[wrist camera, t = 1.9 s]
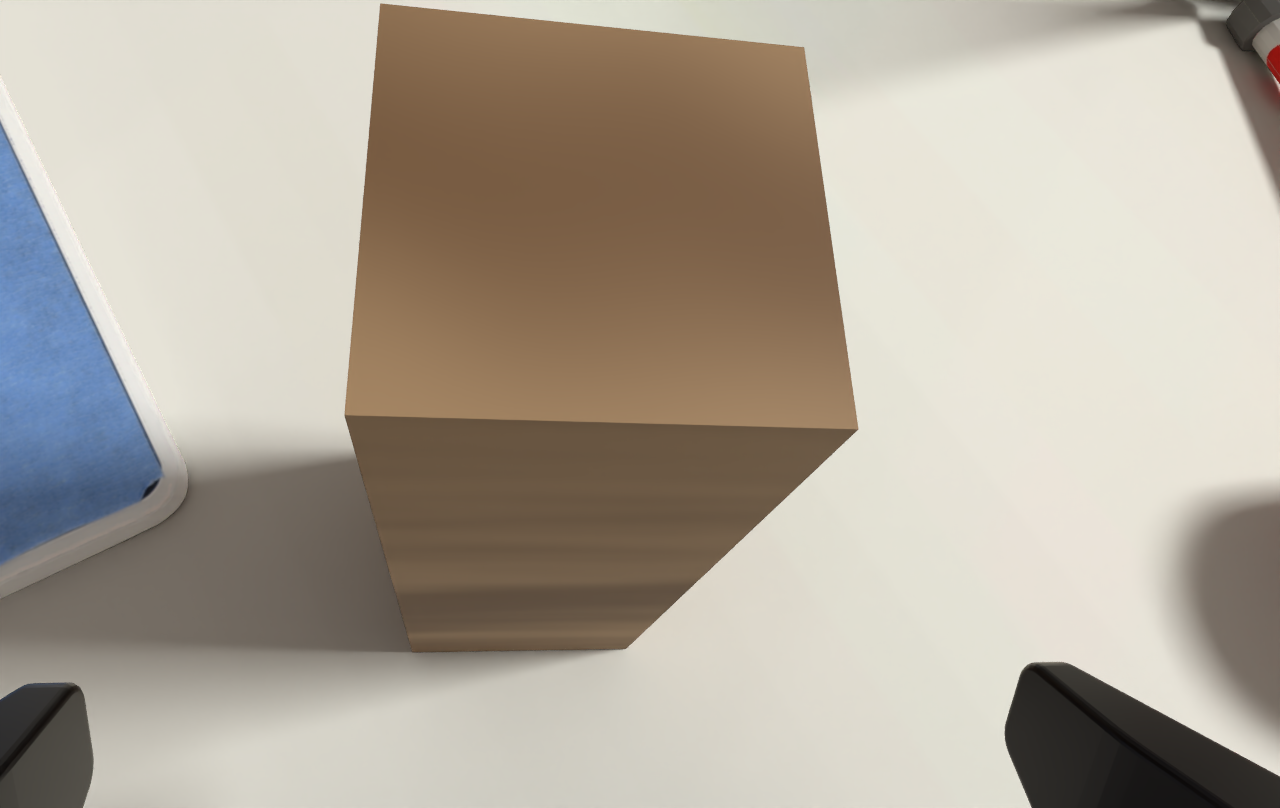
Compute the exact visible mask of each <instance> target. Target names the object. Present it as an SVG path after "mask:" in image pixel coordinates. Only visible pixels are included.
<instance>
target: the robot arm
mask: <svg viewBox="0 0 1280 808" xmlns="http://www.w3.org/2000/svg"><path fill="white" fill-rule="evenodd" d="M1005 742H1006V746H1007V749H1008V752H1009V755H1010V757H1011V760H1012V762H1013V764H1014V767H1015V769H1016V771H1017V774H1018V776H1019V779H1020V781H1021V783H1022V786H1023V788H1024V790H1025V793H1026V795H1027V798H1028V800H1029V802H1030V805H1031V807H1032V808H1280V776H1278V775H1276V774H1274V773H1272V772H1270V771H1268V770H1267V769H1265V768H1263V767H1261V766H1259V765H1257V764H1255V763H1254V762H1252V761H1250V760H1248V759H1246V758H1244V757H1242V756H1240V755H1239V754H1237V753H1235V752H1233V751H1231V750H1229V749H1227V748H1226V747H1224V746H1222V745H1220V744H1218V743H1216V742H1214V741H1213V740H1211V739H1209V738H1207V737H1205V736H1203V735H1201V734H1200V733H1198V732H1196V731H1194V730H1192V729H1190V728H1188V727H1186V726H1185V725H1183V724H1181V723H1179V722H1177V721H1175V720H1173V719H1172V718H1170V717H1168V716H1166V715H1164V714H1162V713H1160V712H1159V711H1157V710H1155V709H1153V708H1151V707H1149V706H1147V705H1145V704H1144V703H1142V702H1140V701H1138V700H1136V699H1134V698H1132V697H1131V696H1129V695H1127V694H1125V693H1123V692H1121V691H1119V690H1118V689H1116V688H1114V687H1112V686H1110V685H1108V684H1106V683H1104V682H1103V681H1101V680H1099V679H1097V678H1095V677H1093V676H1091V675H1090V674H1088V673H1086V672H1084V671H1082V670H1080V669H1078V668H1077V667H1075V666H1073V665H1071V664H1068V663H1064V662H1034V663H1031V664H1028V665H1027V666H1026V667H1025V668H1024V669H1023V670H1022V672H1021V674H1020V677H1019V680H1018V684H1017V687H1016V690H1015V694H1014V697H1013V700H1012V704H1011V707H1010V710H1009V714H1008V717H1007V720H1006V724H1005ZM92 774H93V750H92V744H91V737H90V731H89V724H88V718H87V711H86V705H85V699H84V695H83V692H82V690H81V688H80V687H79V686H77V685H76V684H74V683H33V684H27V685H24V686H22V687H20V688H18V689H16V690H15V691H13V692H12V693H10V694H9V695H7V696H6V697H4V698H2V699H1V700H0V808H83V806H84V803H85V800H86V797H87V793H88V790H89V787H90V784H91V779H92Z"/></svg>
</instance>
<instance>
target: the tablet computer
mask: <svg viewBox="0 0 1280 808" xmlns="http://www.w3.org/2000/svg"><path fill="white" fill-rule="evenodd" d="M187 489H188V473H187V468H186V463H185V461H184V459H183V457H182V455H181V453H180V451H179V448H178V446H177V444H176V442H175V440H174V438H173V436H172V434H171V432H170V430H169V428H168V426H167V424H166V421H165V419H164V417H163V415H162V413H161V411H160V409H159V407H158V405H157V403H156V400H155V398H154V396H153V394H152V392H151V390H150V388H149V386H148V384H147V382H146V380H145V378H144V375H143V373H142V371H141V369H140V367H139V365H138V363H137V361H136V359H135V357H134V355H133V353H132V351H131V348H130V346H129V344H128V342H127V340H126V338H125V336H124V334H123V332H122V330H121V327H120V325H119V323H118V321H117V319H116V317H115V315H114V313H113V311H112V308H111V306H110V304H109V302H108V300H107V298H106V296H105V294H104V292H103V290H102V287H101V285H100V283H99V281H98V279H97V277H96V275H95V273H94V271H93V269H92V267H91V264H90V262H89V260H88V258H87V256H86V254H85V252H84V250H83V248H82V246H81V244H80V241H79V239H78V237H77V235H76V233H75V231H74V229H73V227H72V225H71V223H70V220H69V218H68V216H67V214H66V212H65V210H64V208H63V206H62V203H61V201H60V199H59V197H58V195H57V193H56V191H55V189H54V187H53V184H52V182H51V180H50V178H49V176H48V174H47V172H46V170H45V168H44V166H43V164H42V162H41V160H40V158H39V155H38V153H37V151H36V149H35V147H34V145H33V142H32V140H31V138H30V136H29V134H28V132H27V130H26V127H25V125H24V123H23V121H22V119H21V117H20V115H19V113H18V111H17V109H16V107H15V105H14V103H13V101H12V99H11V97H10V95H9V92H8V90H7V88H6V86H5V84H4V82H3V80H2V78H1V76H0V599H2V598H4V597H6V596H8V595H10V594H12V593H14V592H17V591H19V590H21V589H23V588H25V587H27V586H29V585H31V584H34V583H36V582H38V581H40V580H42V579H44V578H46V577H48V576H51V575H53V574H55V573H57V572H59V571H61V570H63V569H65V568H68V567H70V566H72V565H74V564H76V563H78V562H80V561H82V560H85V559H87V558H89V557H91V556H93V555H95V554H97V553H100V552H102V551H104V550H106V549H108V548H110V547H112V546H114V545H116V544H118V543H121V542H123V541H125V540H127V539H129V538H131V537H133V536H135V535H137V534H139V533H141V532H143V531H145V530H147V529H150V528H152V527H154V526H156V525H158V524H159V523H161V522H162V521H164V520H165V519H167V518H168V517H169V516H170V515H171V514H173V513H174V512H175V511H176V509H177V508H178V507H179V506H180V505H181V504H182V502H183V500H184V498H185V496H186V493H187Z"/></svg>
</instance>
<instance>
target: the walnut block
mask: <svg viewBox="0 0 1280 808" xmlns="http://www.w3.org/2000/svg"><path fill="white" fill-rule="evenodd" d="M345 419H346V422H347V426H348V429H349V433H350V436H351V440H352V443H353V447H354V450H355V454H356V457H357V461H358V464H359V468H360V471H361V475H362V478H363V482H364V485H365V489H366V492H367V496H368V499H369V503H370V506H371V510H372V513H373V516H374V520H375V523H376V527H377V530H378V534H379V537H380V541H381V544H382V548H383V551H384V555H385V558H386V562H387V565H388V569H389V572H390V576H391V579H392V583H393V586H394V590H395V593H396V597H397V600H398V604H399V607H400V611H401V614H402V618H403V621H404V625H405V628H406V632H407V635H408V639H409V642H410V646H411V649H412V652H458V651H520V650H581V649H626V648H627V647H628V646H629V645H630V644H632V643H633V642H634V641H635V640H636V639H637V638H638V637H639V636H640V635H641V634H642V633H643V632H644V631H645V630H646V629H647V628H648V627H650V626H651V625H652V624H653V623H654V622H655V621H656V620H657V619H658V618H659V617H660V616H661V615H662V614H663V613H664V612H665V611H666V610H668V609H669V608H670V607H671V606H672V605H673V604H674V603H675V602H676V601H677V600H678V599H679V598H680V597H681V596H682V595H683V594H684V593H686V592H687V591H688V590H689V589H690V588H691V587H692V586H693V585H694V584H695V583H696V582H697V581H698V580H699V579H700V578H701V577H702V576H704V575H705V574H706V573H707V572H708V571H709V570H710V569H711V568H712V567H713V566H714V565H715V564H716V563H717V562H718V561H719V560H720V559H722V558H723V557H724V556H725V555H726V554H727V553H728V552H729V551H730V550H731V549H732V548H733V547H734V546H735V545H736V544H737V543H738V542H740V541H741V540H742V539H743V538H744V537H745V536H746V535H747V534H748V533H749V532H750V531H751V530H752V529H753V528H754V527H755V526H756V525H758V524H759V523H760V522H761V521H762V520H763V519H764V518H765V517H766V516H767V515H768V514H769V513H770V512H771V511H772V510H773V509H774V508H776V507H777V506H778V505H779V504H780V503H781V502H782V501H783V500H784V499H785V498H786V497H787V496H788V495H789V494H790V493H791V492H792V491H794V490H795V489H796V488H797V487H798V486H799V485H800V484H801V483H802V482H803V481H804V480H805V479H806V478H807V477H808V476H809V475H810V474H812V473H813V472H814V471H815V470H816V469H817V468H818V467H819V466H820V465H821V464H822V463H823V462H824V461H825V460H826V459H827V458H828V457H830V456H831V455H832V454H833V453H834V452H835V451H836V450H837V449H838V448H839V447H840V446H841V445H842V444H843V443H844V442H845V441H846V440H848V439H849V438H850V437H851V436H852V435H853V434H854V433H855V432H856V431H857V430H858V424H857V416H856V409H855V402H854V395H853V388H852V381H851V374H850V367H849V360H848V353H847V346H846V339H845V332H844V325H843V318H842V311H841V304H840V297H839V290H838V283H837V276H836V269H835V262H834V255H833V248H832V241H831V234H830V227H829V219H828V212H827V205H826V198H825V191H824V184H823V177H822V170H821V163H820V156H819V149H818V142H817V135H816V128H815V121H814V114H813V107H812V100H811V93H810V86H809V79H808V72H807V65H806V58H805V51H804V47H795V46H785V45H776V44H766V43H756V42H747V41H737V40H727V39H718V38H708V37H698V36H689V35H679V34H669V33H660V32H650V31H640V30H631V29H621V28H612V27H602V26H592V25H583V24H573V23H563V22H554V21H544V20H534V19H525V18H515V17H505V16H496V15H486V14H476V13H467V12H457V11H447V10H438V9H428V8H418V7H409V6H399V5H389V4H380V13H379V25H378V36H377V48H376V59H375V71H374V82H373V94H372V105H371V117H370V128H369V140H368V151H367V163H366V174H365V186H364V197H363V209H362V220H361V232H360V243H359V255H358V266H357V278H356V289H355V301H354V312H353V324H352V335H351V347H350V358H349V370H348V381H347V392H346V404H345Z"/></svg>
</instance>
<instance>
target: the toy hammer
mask: <svg viewBox="0 0 1280 808" xmlns="http://www.w3.org/2000/svg"><path fill="white" fill-rule="evenodd" d="M1226 26H1227V27H1228V29H1229V31H1230V32H1231V34H1232V36H1233V37H1234V39H1235V41H1236V42H1237V44H1238V45H1239V47H1240V48H1241V49H1242V51H1257V53H1258V54H1259V56H1260V57H1261V58H1262V60H1263V61H1264V63H1265V64H1266V65H1267V67H1268V68H1269V70H1270V71H1271V72H1272V74H1273V75H1274V77H1275V78H1276V79H1277V81H1278V82H1279V84H1280V0H1243V1H1242V2H1241V3H1240V4H1239V5H1238V6H1237V7H1236V8H1235V9H1234V10H1233V12H1232V13H1231V15H1230V16H1229V18H1228V19H1227V25H1226Z"/></svg>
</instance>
